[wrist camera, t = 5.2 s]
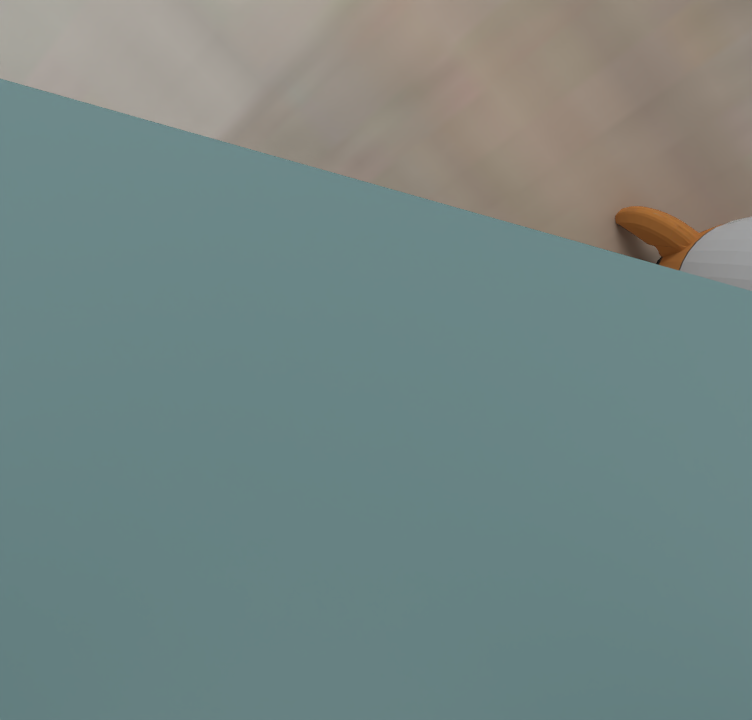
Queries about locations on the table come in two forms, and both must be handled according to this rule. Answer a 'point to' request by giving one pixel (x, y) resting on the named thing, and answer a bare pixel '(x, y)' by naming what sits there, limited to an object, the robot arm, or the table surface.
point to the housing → (351, 448)
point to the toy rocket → (695, 245)
